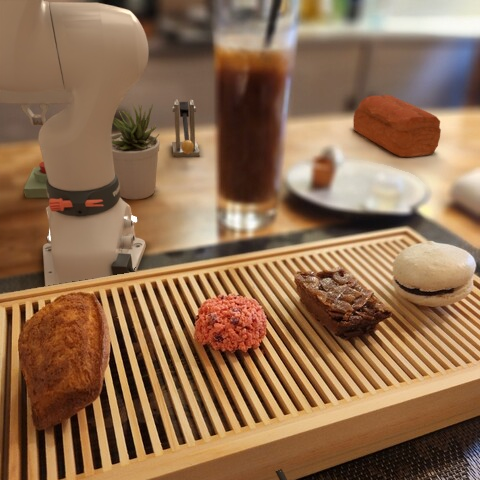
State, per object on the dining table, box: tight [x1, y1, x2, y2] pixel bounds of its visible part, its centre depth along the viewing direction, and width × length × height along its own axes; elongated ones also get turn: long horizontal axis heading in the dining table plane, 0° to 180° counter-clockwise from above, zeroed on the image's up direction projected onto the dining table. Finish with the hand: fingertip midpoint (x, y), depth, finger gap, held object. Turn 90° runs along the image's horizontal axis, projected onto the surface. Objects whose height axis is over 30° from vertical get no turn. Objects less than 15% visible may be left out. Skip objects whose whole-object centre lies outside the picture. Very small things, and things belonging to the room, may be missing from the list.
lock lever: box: [178, 101, 194, 154], centre depth 119 cm, size 16×3×3 cm, turn 8°
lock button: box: [38, 161, 46, 174], centre depth 105 cm, size 4×4×2 cm
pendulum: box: [171, 99, 200, 158], centre depth 124 cm, size 8×7×13 cm
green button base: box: [23, 165, 48, 199], centre depth 107 cm, size 12×10×4 cm
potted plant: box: [112, 102, 161, 200], centre depth 101 cm, size 13×14×20 cm
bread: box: [352, 94, 442, 158], centre depth 138 cm, size 16×27×11 cm, turn 22°
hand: (39, 124), depth 100 cm, fingers closed
